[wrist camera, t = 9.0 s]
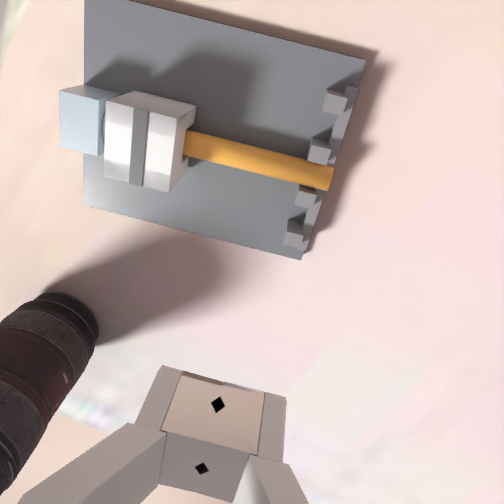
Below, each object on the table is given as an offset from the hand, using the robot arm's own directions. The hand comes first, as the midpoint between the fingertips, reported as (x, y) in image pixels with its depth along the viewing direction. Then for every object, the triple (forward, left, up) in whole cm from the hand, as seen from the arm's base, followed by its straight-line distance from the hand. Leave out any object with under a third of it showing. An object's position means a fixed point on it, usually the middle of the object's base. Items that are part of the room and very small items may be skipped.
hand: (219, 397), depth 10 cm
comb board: (0, -5, -21) cm, 21 cm away
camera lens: (+20, -16, -21) cm, 33 cm away
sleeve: (0, -8, -20) cm, 21 cm away
